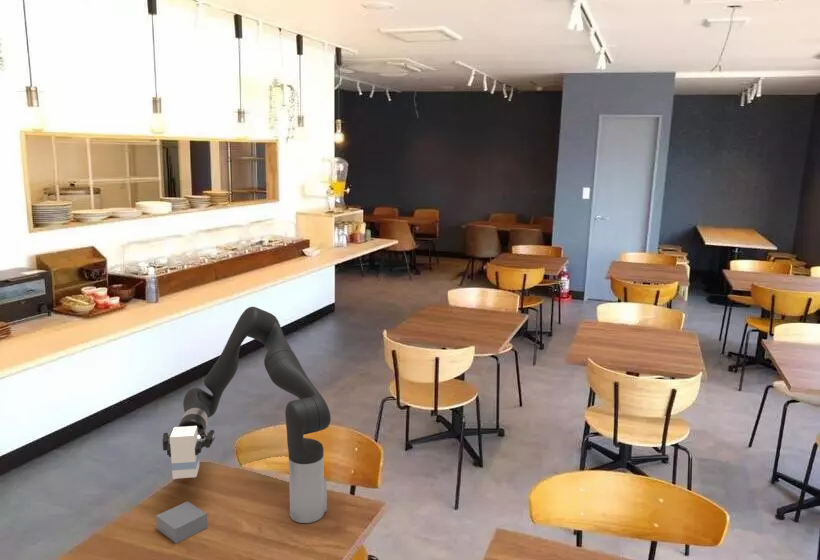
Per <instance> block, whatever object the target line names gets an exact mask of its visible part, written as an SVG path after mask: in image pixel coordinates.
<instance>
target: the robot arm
mask: <svg viewBox="0 0 820 560" xmlns="http://www.w3.org/2000/svg"><path fill="white" fill-rule="evenodd" d="M247 337H248V338H251V339H253V340H256V341H259V342H260V343H262V344H263V346H264V347H265V349H266V350H267V351H266V353H265V355H264V359H263V365H264V368H265V371H266V372H267V374H268V376H269V379H270V380H271V382H272V383H273V384H274V385H276V387H278V388H280V389H281V390H284V391H285V392H287V393H289V394H291V395H293V396H295V397H297V399H294V400H290V401H288V402H287V404H286V407H285V410H284V412H285V413H284V414H285V427H286V438H287V439H286V441H287V442H286V443H287V451H288V481H289V482H288V487H289V488H288V489H289V490H288V491H289V517H290V518H291V520H293V521H294V522H296V523H299V524H310V523H314V522H317V521H319V520H320V519H322V518H323V516H324V515H325V513H326V512H327V511H328V489H327V487H328V485H327V482H328V480H327V478H325V477H324V476H325V475H324V474H325V466H324V463H325V461H324V457H325V456H324V446H323V444H322V443H321V441H319V440H316V439H314V438H307V437H304V435H308V434H309V435H310V434H313V433H317V432H321V431H323V430H325V429H327V428H328V427H329V426H330V424H331V421H332V420H331V418H332V417H331V412H330V409H329V406H328V404H327V402H326V400H325V399H324V397H323V396H322V394H321V393H320V392H319V390H318V389H317V388H316V387H315V385H314V384H313V383H312V382H311V380H310V378H309V377H308V375H307V373H306V372H305V370H304V368H303V366H302V365H301V363H300V360H299V359H298V357H297V355H296V354H295V352H294V351H293V349H292V348H291V346H290V344H289V342H288V341H287V338H286V337H285V335H284V332H283V329H282V327H281V324H280V321H279V319H278V318H277V317H276V315H274V314H273V313H270V312H269V311H266V310H264V309H261V308H258V307H256V306H249V307H247V308H245V310H244V311H243V312H242V313H241V315H240V316H239V317H238V320H237V322H236V324H235V325H234V328H233V329H232V331H231V333H230V335H229V337H228V339H227V341H226V344H225V346H224V347H223V350H222V352H221V354H220V355H219V357H218V358H217V360H216V362H215V363H214V364H213V366H212V368H211V369H210V371H209V372H208V373H207V375H206V376H205V377H204V379H203V385H204V386H205V387H206V389H208V390H209V391H210V392H211V394H210V393H209V392H207V391H206V390H205V391H204V390H203V389H202V388H199V387H193V388H191V389H189V390H188V391H187V392H186V393H185V396H184V398H183V402H182V403H183V404H182V406H183V411H184V414H183V415H182V417H181V419H180V421H179V424H178V426H177V427H186V426H197V433H198V440H197V443H196V446H195V455H198V453H199V454H201V453H202V450H203V449H204V448H206V449H208V448H209V449H210V447H211V446H212V444H213V442H214V441H215V439H216V438H215V430H214V429H211V430H209V431H208V432H206V430H207V428H208V420H209V418H210V417H213V416H214V415H215V413H216V412H217V410H218V407H219V403H220V401H221V397H222V395H223V393H224V391H225V389H226V388H227V387H228V385H229V384H230V383H231V381H232V379H233V378H234V377H235V375H236V373H237V370H238V366H239V354H240V349H241V346H242V344H243V342H244V341H245V340H246V338H247ZM170 436H171V434H169V433H168V432H163V435H162V451H166V455H167V456H168V458H171V447H170Z"/></svg>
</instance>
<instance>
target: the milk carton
mask: <svg viewBox="0 0 820 560" xmlns="http://www.w3.org/2000/svg"><path fill="white" fill-rule="evenodd" d="M170 435H171V436H170V447H171V457H170V461H171V472H172V473H171V474H172V475H171V476H172V480H175V479H190V478H197V476H198V473H199V470H200V453H198V455H195V446H196V443H197V440H198V433H197V426H186V427H178V426H175V427H173V429H172V432H171V434H170Z"/></svg>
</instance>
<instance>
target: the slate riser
mask: <svg viewBox="0 0 820 560" xmlns="http://www.w3.org/2000/svg"><path fill="white" fill-rule="evenodd" d="M155 517H156V518H155V519H156V529H157V530H158V531H159V532H160V533H161V534H162V535H164V537H165V536H166V538H168V539H170V540H171V541H172V542H173V543H174V544H178V543H180V542H182V541H184V540H187V539H188V538H190V537H192V536H194V535H196V534H197V533H200V532H201V531H204V530H206V529H208V514H207V512H205V511H204V510H202V509H200V508H198V507H197V506H196V505H194V504H193V503H191V502H190V501H189V500H188V501H185V502H183V503H180V504H178V505H176V506H174V507H172V508H169V509H168V510H165V511H163V512H161V513H159V514H157V515H155Z"/></svg>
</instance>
